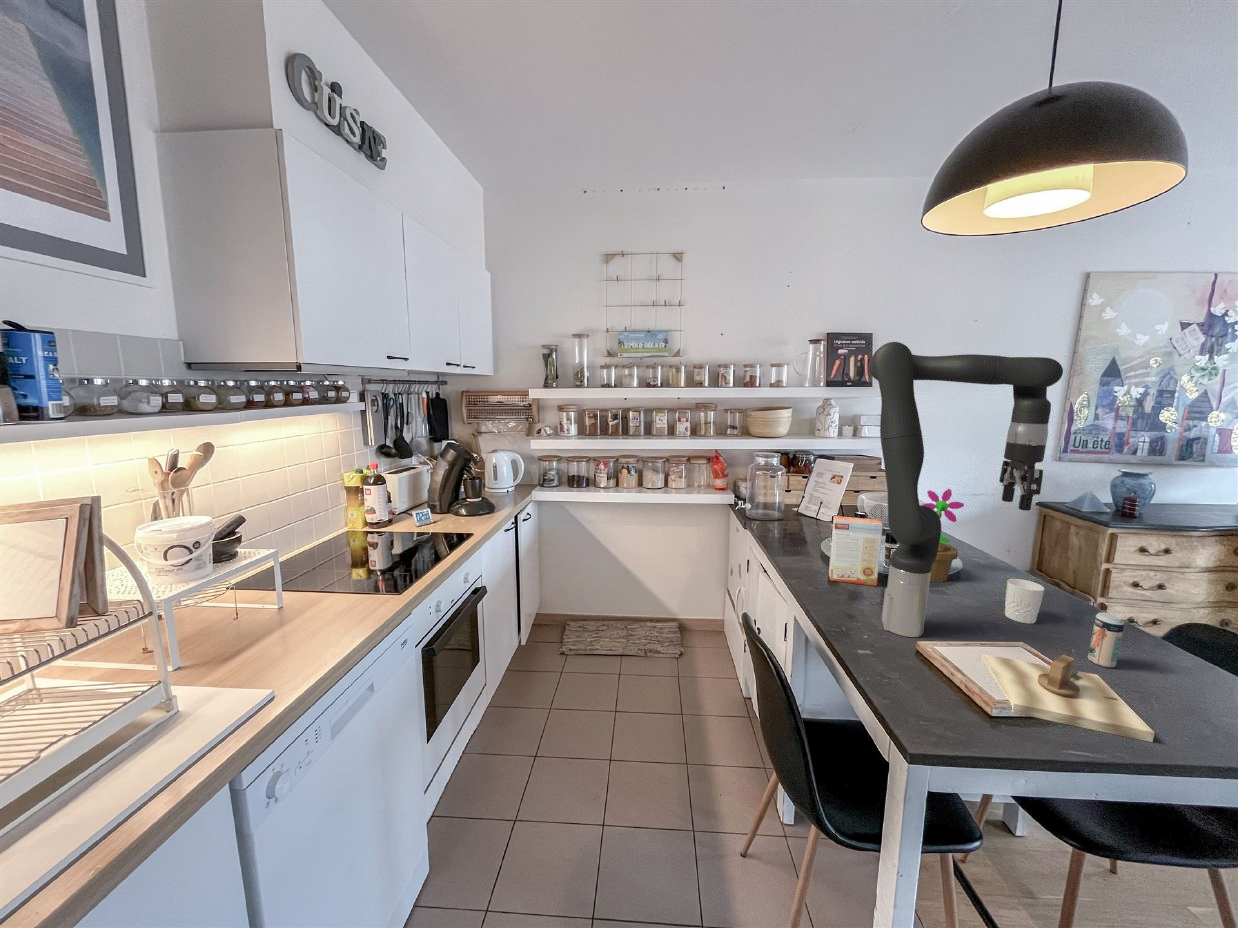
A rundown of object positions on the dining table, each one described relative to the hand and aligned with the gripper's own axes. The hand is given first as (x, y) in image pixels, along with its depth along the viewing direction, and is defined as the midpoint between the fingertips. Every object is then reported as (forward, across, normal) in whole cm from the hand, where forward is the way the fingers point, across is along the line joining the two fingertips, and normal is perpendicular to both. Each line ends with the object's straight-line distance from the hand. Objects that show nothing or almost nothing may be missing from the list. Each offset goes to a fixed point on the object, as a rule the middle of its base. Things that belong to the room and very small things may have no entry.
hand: (1015, 505), depth 121 cm
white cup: (+35, -12, +11) cm, 38 cm away
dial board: (+34, +27, 0) cm, 44 cm away
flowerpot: (+35, -38, -4) cm, 52 cm away
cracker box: (+35, -26, -30) cm, 53 cm away
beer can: (+35, +9, +18) cm, 40 cm away
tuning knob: (+32, +25, +2) cm, 41 cm away
